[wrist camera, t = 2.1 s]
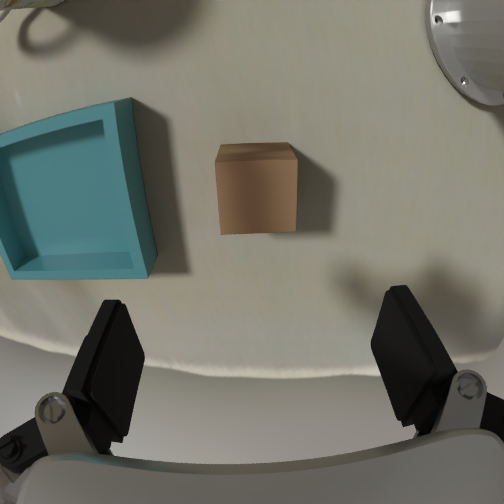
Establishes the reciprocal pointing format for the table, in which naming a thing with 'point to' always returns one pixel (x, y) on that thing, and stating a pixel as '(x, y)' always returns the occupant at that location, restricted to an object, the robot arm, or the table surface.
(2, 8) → the mug
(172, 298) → the table surface
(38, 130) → the tray
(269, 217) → the block
